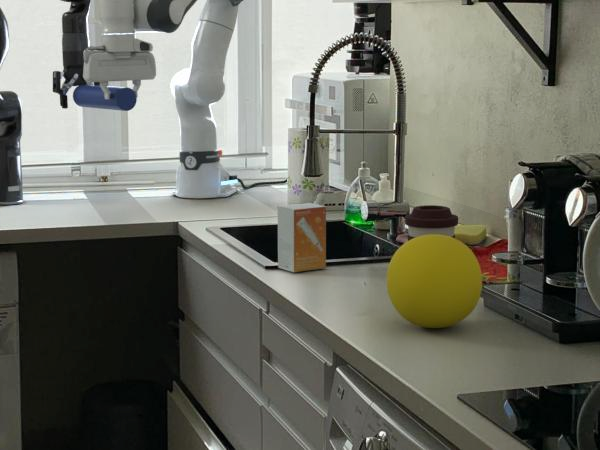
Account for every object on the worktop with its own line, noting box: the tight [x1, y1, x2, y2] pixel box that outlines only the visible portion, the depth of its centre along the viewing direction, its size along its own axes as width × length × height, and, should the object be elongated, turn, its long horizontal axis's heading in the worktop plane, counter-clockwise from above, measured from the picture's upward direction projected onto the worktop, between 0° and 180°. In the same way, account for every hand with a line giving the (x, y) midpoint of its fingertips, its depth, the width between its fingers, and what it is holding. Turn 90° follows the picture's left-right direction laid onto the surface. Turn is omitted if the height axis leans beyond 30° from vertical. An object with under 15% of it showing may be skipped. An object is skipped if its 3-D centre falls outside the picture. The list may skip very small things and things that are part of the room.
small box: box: [277, 202, 327, 273], centre depth 214 cm, size 8×6×13 cm
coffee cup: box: [404, 204, 459, 241], centre depth 197 cm, size 10×10×15 cm
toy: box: [386, 234, 483, 329], centre depth 168 cm, size 15×15×15 cm
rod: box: [72, 84, 138, 112], centre depth 283 cm, size 24×6×6 cm, turn 39°
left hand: (78, 107), depth 295 cm, fingers open, 8 cm apart
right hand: (121, 98), depth 276 cm, fingers closed on rod, 6 cm apart
